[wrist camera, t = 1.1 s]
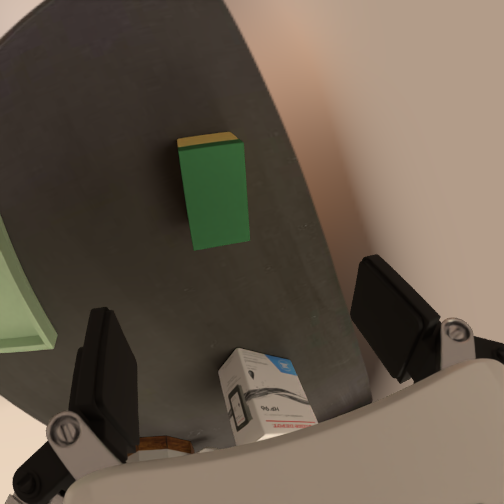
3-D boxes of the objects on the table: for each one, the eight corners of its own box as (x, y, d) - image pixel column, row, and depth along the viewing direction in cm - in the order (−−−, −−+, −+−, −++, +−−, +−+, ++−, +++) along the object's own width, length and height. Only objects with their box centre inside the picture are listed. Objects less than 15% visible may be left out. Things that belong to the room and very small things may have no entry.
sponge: (176, 138, 21) (178, 151, 17) (230, 131, 22) (243, 142, 18) (189, 222, 25) (193, 250, 21) (236, 214, 25) (250, 241, 22)
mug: (152, 465, 49) (161, 527, 36) (108, 444, 41) (113, 519, 29) (236, 442, 49) (257, 511, 36) (202, 418, 41) (222, 506, 29)
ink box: (291, 358, 38) (336, 455, 26) (270, 380, 39) (306, 474, 27) (236, 345, 34) (273, 462, 22) (215, 370, 35) (244, 480, 23)
